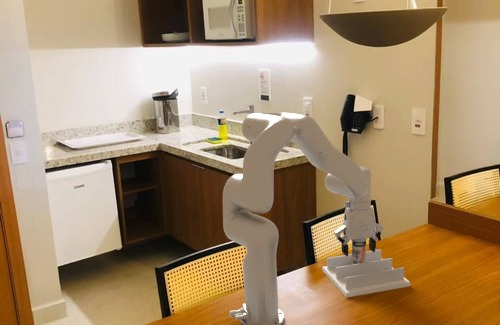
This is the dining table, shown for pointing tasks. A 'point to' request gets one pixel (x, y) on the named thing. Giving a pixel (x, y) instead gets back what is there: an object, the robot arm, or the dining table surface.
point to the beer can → (358, 251)
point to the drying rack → (364, 274)
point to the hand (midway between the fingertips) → (358, 252)
